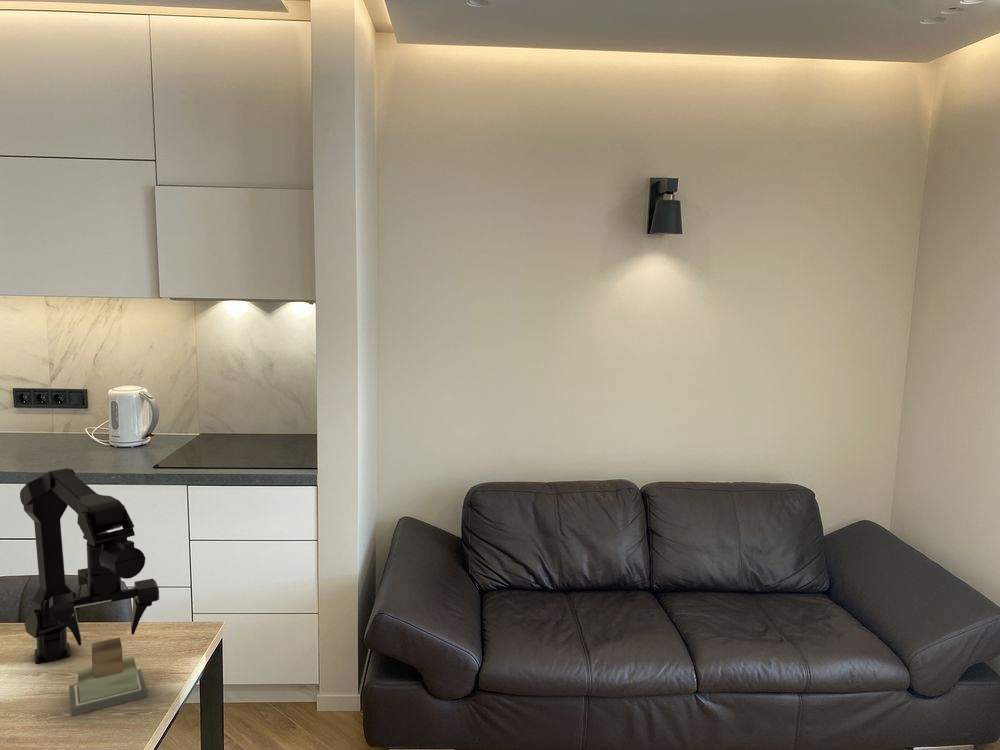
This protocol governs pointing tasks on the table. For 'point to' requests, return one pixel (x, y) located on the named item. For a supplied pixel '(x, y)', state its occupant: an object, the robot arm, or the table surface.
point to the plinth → (106, 698)
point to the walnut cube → (107, 657)
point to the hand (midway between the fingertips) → (106, 639)
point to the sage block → (107, 681)
